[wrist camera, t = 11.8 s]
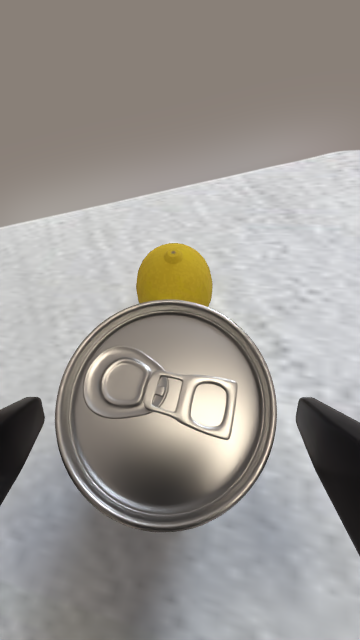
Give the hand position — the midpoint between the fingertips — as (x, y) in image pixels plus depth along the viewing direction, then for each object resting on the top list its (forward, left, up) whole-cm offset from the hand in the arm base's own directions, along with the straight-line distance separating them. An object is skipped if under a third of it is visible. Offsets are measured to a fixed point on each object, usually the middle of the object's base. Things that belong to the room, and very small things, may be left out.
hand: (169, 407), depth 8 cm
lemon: (+3, +8, -10) cm, 14 cm away
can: (0, 0, -10) cm, 10 cm away
